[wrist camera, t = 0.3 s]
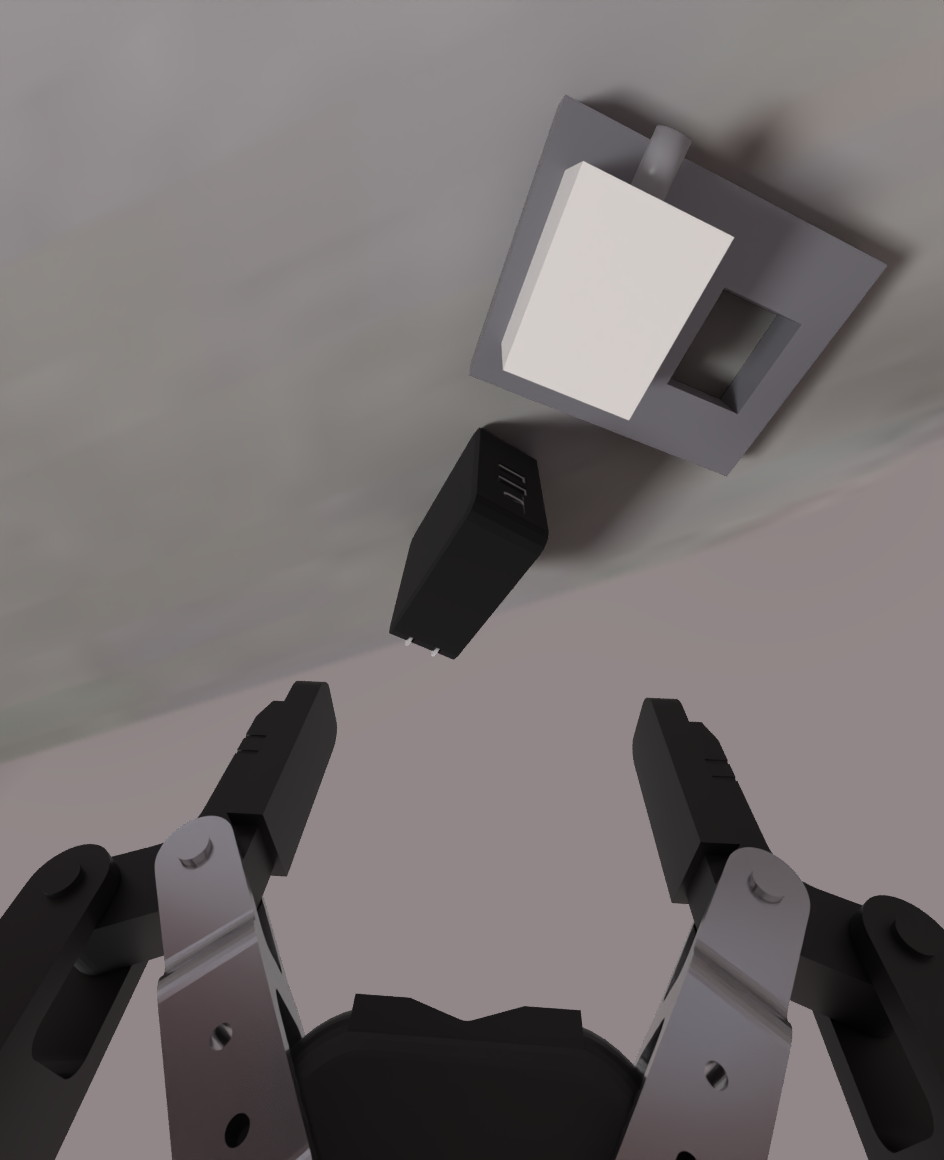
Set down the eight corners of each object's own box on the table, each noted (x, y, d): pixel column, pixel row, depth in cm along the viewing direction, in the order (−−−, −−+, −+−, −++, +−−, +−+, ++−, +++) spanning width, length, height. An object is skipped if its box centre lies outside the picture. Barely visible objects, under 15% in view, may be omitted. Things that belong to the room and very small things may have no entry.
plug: (580, 114, 20) (614, 79, 15) (701, 178, 21) (774, 167, 16) (500, 334, 25) (502, 370, 20) (600, 376, 27) (628, 420, 21)
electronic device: (536, 455, 30) (552, 543, 22) (460, 564, 36) (451, 666, 28) (479, 422, 29) (474, 502, 21) (409, 540, 34) (385, 639, 27)
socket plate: (558, 105, 20) (565, 94, 18) (854, 260, 23) (887, 265, 21) (470, 363, 27) (468, 375, 25) (711, 458, 30) (726, 476, 28)
